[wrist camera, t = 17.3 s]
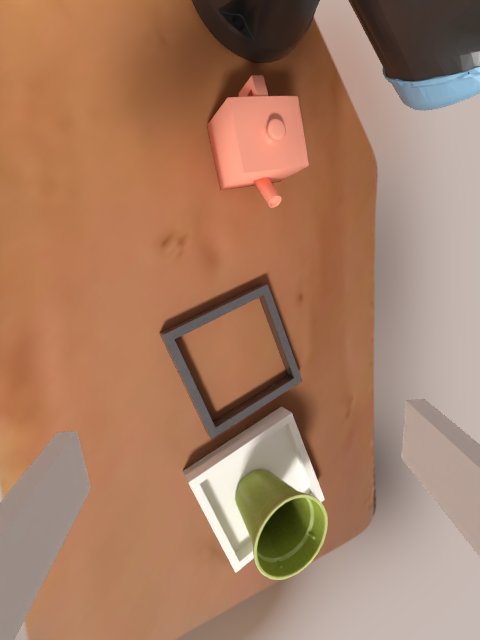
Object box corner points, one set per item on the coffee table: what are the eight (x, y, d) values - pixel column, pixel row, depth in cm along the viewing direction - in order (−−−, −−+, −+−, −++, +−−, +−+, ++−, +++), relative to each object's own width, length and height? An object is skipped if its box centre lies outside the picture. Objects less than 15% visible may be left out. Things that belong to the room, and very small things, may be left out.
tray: (281, 406, 44) (291, 412, 41) (313, 489, 48) (324, 499, 45) (182, 470, 39) (188, 482, 36) (228, 557, 43) (235, 572, 40)
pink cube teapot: (223, 221, 38) (255, 206, 30) (199, 109, 35) (228, 62, 28) (279, 211, 40) (321, 195, 33) (260, 106, 38) (301, 64, 30)
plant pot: (271, 441, 42) (311, 477, 35) (295, 493, 45) (338, 537, 37) (211, 486, 39) (240, 537, 32) (240, 538, 42) (274, 597, 34)
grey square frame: (261, 283, 40) (267, 283, 39) (296, 377, 44) (302, 380, 43) (159, 333, 36) (162, 335, 34) (207, 433, 39) (211, 439, 38)
